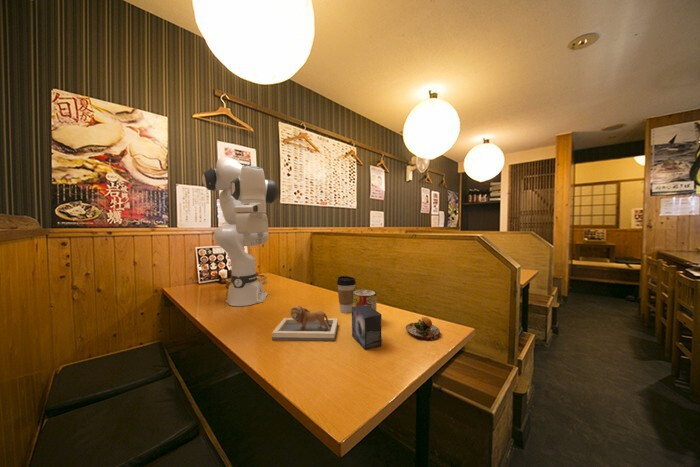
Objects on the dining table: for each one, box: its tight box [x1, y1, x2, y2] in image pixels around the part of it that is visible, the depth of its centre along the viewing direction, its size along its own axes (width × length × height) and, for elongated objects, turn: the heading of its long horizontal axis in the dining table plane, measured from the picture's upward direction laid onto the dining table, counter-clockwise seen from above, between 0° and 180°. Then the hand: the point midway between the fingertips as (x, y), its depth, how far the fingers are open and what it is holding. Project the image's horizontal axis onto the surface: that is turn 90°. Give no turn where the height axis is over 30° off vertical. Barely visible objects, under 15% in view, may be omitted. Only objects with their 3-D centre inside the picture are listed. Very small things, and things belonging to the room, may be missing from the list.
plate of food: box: [405, 316, 441, 342], centre depth 87 cm, size 12×12×8 cm
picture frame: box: [271, 317, 339, 342], centre depth 88 cm, size 13×21×2 cm, turn 88°
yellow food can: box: [353, 289, 377, 311], centre depth 96 cm, size 9×9×12 cm
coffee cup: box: [336, 275, 357, 314], centre depth 109 cm, size 8×8×15 cm
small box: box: [351, 304, 383, 351], centre depth 81 cm, size 11×6×10 cm, turn 23°
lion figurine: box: [290, 305, 332, 331], centre depth 88 cm, size 15×5×9 cm, turn 102°
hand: (254, 245), depth 93 cm, fingers open, 8 cm apart
